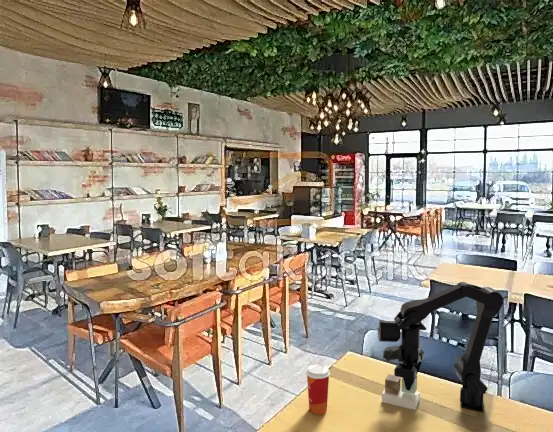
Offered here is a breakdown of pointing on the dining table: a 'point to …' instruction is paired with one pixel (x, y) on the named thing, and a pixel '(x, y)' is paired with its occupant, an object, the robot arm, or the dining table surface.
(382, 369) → the dining table surface
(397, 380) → the walnut cube
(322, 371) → the paper cup
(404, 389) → the sage cube
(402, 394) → the base slab
